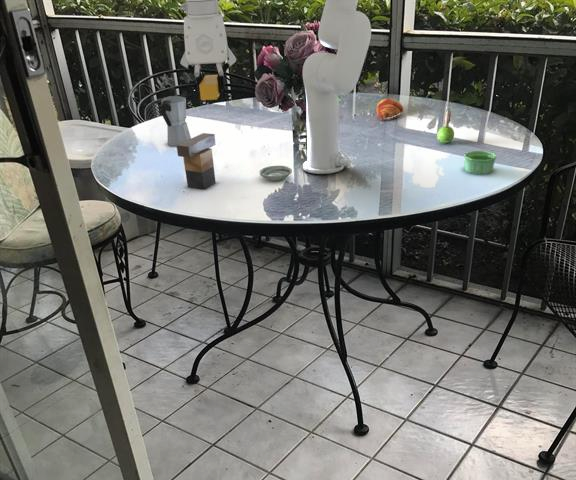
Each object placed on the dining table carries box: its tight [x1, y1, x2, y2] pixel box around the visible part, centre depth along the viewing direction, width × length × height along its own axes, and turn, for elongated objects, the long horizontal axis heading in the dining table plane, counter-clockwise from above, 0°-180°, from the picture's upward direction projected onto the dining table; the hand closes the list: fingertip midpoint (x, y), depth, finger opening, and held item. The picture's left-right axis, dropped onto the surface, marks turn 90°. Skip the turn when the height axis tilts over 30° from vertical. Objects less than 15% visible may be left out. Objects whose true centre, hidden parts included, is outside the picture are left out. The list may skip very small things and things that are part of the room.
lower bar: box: [176, 132, 216, 158], centre depth 173 cm, size 13×4×3 cm, turn 152°
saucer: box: [258, 165, 293, 182], centre depth 181 cm, size 10×10×2 cm
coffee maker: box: [160, 87, 192, 148], centre depth 211 cm, size 15×9×18 cm, turn 161°
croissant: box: [375, 97, 404, 121], centre depth 233 cm, size 21×10×8 cm, turn 159°
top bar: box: [199, 74, 221, 101], centre depth 154 cm, size 12×4×4 cm, turn 179°
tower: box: [182, 147, 216, 190], centre depth 177 cm, size 6×6×10 cm
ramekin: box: [463, 150, 497, 175], centre depth 179 cm, size 9×9×4 cm
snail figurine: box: [436, 106, 455, 145], centre depth 199 cm, size 5×6×12 cm
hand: (211, 91), depth 155 cm, fingers closed on top bar, 4 cm apart
